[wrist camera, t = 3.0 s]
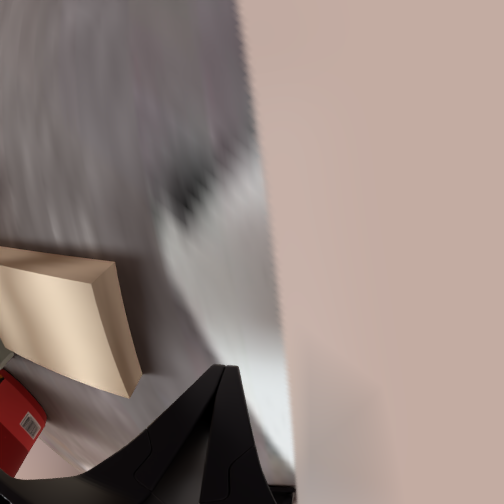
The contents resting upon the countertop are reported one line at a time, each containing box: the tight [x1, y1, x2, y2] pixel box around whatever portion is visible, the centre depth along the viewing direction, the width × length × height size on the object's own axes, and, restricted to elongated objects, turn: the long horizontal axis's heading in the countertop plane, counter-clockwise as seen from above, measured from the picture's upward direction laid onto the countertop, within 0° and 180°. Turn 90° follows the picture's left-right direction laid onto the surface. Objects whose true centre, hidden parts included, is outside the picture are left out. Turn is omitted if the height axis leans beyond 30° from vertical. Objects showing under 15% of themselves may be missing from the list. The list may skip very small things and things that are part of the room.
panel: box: [0, 246, 142, 399], centre depth 12 cm, size 10×6×2 cm, turn 88°
